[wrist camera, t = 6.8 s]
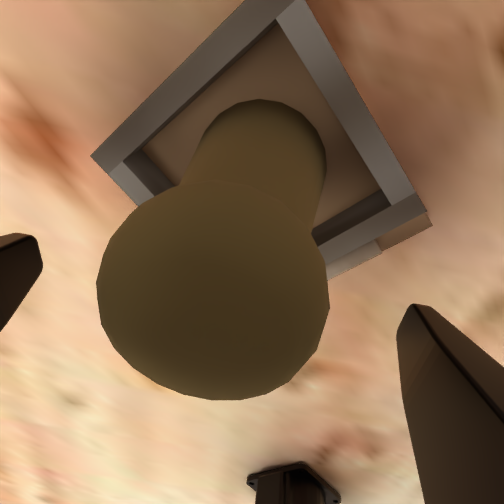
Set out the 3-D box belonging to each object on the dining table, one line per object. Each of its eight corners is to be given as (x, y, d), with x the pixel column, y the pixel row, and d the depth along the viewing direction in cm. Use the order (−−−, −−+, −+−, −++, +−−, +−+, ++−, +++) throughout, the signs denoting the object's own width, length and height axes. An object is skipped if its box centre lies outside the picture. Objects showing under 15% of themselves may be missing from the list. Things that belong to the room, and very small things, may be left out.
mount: (427, 218, 17) (447, 247, 14) (253, 308, 21) (246, 341, 19) (287, -23, 13) (283, -38, 10) (108, 152, 17) (76, 169, 15)
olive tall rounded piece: (307, 76, 14) (308, 148, 4) (340, 210, 16) (385, 431, 7) (175, 126, 15) (-27, 255, 6) (225, 239, 18) (140, 448, 9)
